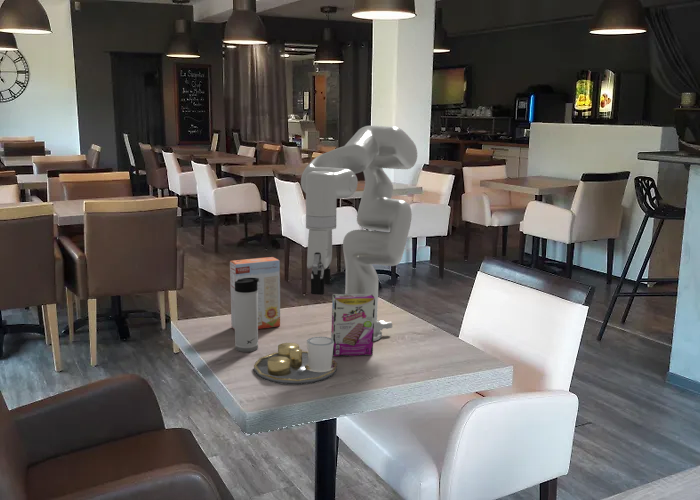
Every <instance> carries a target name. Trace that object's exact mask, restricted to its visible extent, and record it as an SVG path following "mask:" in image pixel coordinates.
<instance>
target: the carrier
mask: <svg viewBox="0 0 700 500" xmlns="http://www.w3.org/2000/svg"><path fill="white" fill-rule="evenodd" d="M253 369H254V373H255V375H256V376H257V377H259V378H260V379H262V380H264V381H267V382H270V383H275V384H279V385H280V384H281V385H293V386H294V385H295V386H296V385H297V386H298V385H300V386H301V385H309V384H311V385H312V384H316V383H320V382H323V381H326V380H328V379H330V378H332V377H334V375H336V373H337V370H338V363H337V362H336V361H335V360H334V359H333V358H332V364H331V368H330V369H329V370H325V371H315V370H311V369H310V368H309V361H308V350H307V351H304V350H303V349H302V348H301V347H300V344H298V343H296V342H282V343H280V344H278V346H277V352H273V353H270V354H266V355H264V356H262V357H259V358H258V360H257V361H256V362H255V363H254V364H253Z"/></svg>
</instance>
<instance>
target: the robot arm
mask: <svg viewBox="0 0 700 500" xmlns="http://www.w3.org/2000/svg"><path fill="white" fill-rule="evenodd" d="M417 160H418V148H417V146H416V143H415V142H414V140H412V139H411V137H410V136H409V135H408V134H407V133H406V132H405V131H404V130H403V129H402V128H399V127H398V126H393V125H388V126H387V125H365V126H363V127H361V128H359V129H357V131H356V132H355V133H354V135H352V137H351V138H350V139H349V140H348V141H347V143H345V144H344V145H343V146H340V147H337V148H334V149H332V150H329V151H327V152H323V153H322V154H319V155H317V156H315V158H313V159H312V160H311V161H310V162H309V163H308V165H306V167H305V169H304V170H303V172H302V174H301V178H300V186H301V189H302V191H303V193H304V194H305V228H306V229H307V230H309V231H308V238H307V254H306V255H307V256H306V257H307V258H306V268H307V269H308V270H310V269H311V276H310V277H311V278H310V294H311V295H318V296H319V295H321V296H323V295H324V294H325V285H330V284H331V263H332V258H333V230H336V229H337V205H338V204H337V201H338V199H348V198H350V197H352V196H353V195H354V194H355V192H356V191H357V189H358V177H357V175H356V174H359V173H362V172H363V176H364V188H363V191H362V196H361V199H360V203H359V206H358V209H357V215H356V222H357V224H358V225H359V227H360V228H362V229H353V230H351V231H349V232H347V233H346V234H345V235H344V237H343V241H342V250H343V256H344V257H343V258H344V264H345V265H344V267H345V287H344V288H345V290H344V291H345V292H344V294H372V295H373V296H374V298H375V311H374V335H373V342H375V341H378V340H380V339H381V338H382V337H383V332H382V331H383V330H384V329H392V328H393V323H392V321H385V320H379V319H378V310H379V309H378V306H379V305H378V304H379V276H378V273H377V271H376V269H375V267H374V265H376V266H377V265H378V266H386V267H395V266H397V265H399V264H400V263H401V261H402V260H403V256H404V253H405V249H406V245H407V241H408V240H407V239H408V238H409V237H408V236H409V232H410V228H411V224H412V219H413V218H412V215H413V214H412V208H411V206H410V204H409V203H408V202H407V201H405V200H403V199H397V198H396V199H395V198H392V195H393V192H394V185H393V182H392V180H391V179H390V177H389V176H388V175H387V173H386V172H385V170H384V169H388V170H389V169H391V170H392V169H393V170H410V169H412V168H413V167H414V166H415V165H416V163H417Z"/></svg>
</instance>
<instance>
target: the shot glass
mask: <svg viewBox="0 0 700 500" xmlns="http://www.w3.org/2000/svg"><path fill="white" fill-rule="evenodd" d="M306 345H307V346H306V347H307V351H308V361H309V368H310V369H311V370H315V371H325V370H329V369H330V368H331V364H332V359H333V346H334V340H333V339H331V337H327V336H314V337H310V338H308V339H307V340H306Z"/></svg>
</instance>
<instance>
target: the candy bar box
mask: <svg viewBox="0 0 700 500" xmlns="http://www.w3.org/2000/svg"><path fill="white" fill-rule="evenodd" d="M331 297H332V298H331V299H332V301H331V303H332V304H331V305H332V306H331V329H330V330H331V333H330V336H331V337H330V338H331V339H333V340H334V346H333V355H332V357H354V356H356V357H357V356H358V357H359V356H372V355H373V353H374V341H373V335H374V311H375V298H374V296H373V295H372V294H345V293H333V294H332V295H331Z"/></svg>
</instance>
